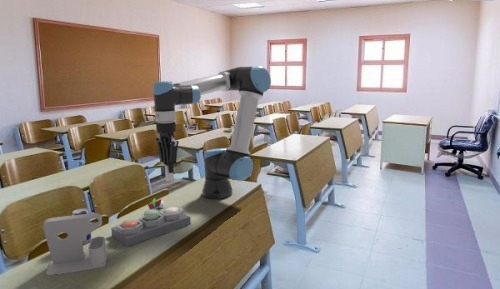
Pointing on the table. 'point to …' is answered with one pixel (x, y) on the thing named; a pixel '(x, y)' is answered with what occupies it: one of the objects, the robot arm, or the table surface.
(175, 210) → the cream button
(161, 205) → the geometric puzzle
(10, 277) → the table surface
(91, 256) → the phone holder
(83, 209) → the energy drink
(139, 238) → the button board
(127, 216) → the table surface
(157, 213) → the sage button
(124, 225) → the terracotta button
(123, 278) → the table surface
